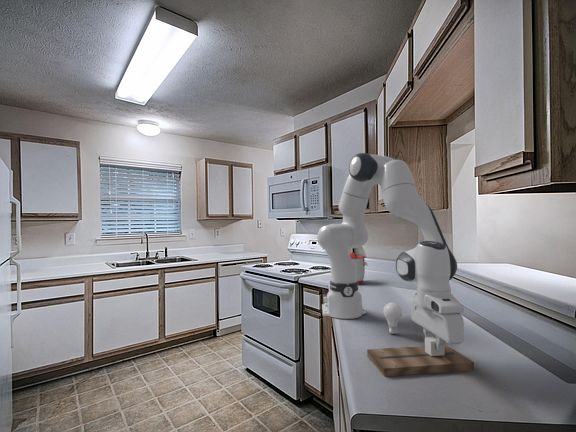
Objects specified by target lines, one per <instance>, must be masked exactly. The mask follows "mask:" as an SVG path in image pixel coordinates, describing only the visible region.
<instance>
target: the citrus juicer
mask: <svg viewBox="0 0 576 432" xmlns="http://www.w3.org/2000/svg"><path fill="white" fill-rule="evenodd" d="M349 255H350V257H351V259H353V260H354V261H355V262H356V264H357V281H358V285H361V284H363V282H364V280H365V279H364V278H365V272H366V271H365V269H366V267H365V266H369V264H368V262H366V261H365V256H363V255H357V254H356V253H354V252H350V253H349Z"/></svg>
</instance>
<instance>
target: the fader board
mask: <svg viewBox="0 0 576 432" xmlns="http://www.w3.org/2000/svg"><path fill="white" fill-rule="evenodd" d="M366 352H367V353H366V354H367V355H366V357H367V358H368V359H369V360H370V361H371V362H372V364H373V365H374V366H375V367H376V369H377V370H378V371H379V372H380V373H381V374H382V376H384V377H393V376H407V375H421V374H435V373H436V374H437V373H449V372H462V371H464V372H465V371H474V370H475V362H474V361H472V360H471V359H470V358H468V357H466V356H465V355H463V354H462V353H460V352H458V351H457V350H455V349H453V348H452V347H450V346H449V345H447V344H445V345H444V353H445V355H440V356H430V355H429V354H428V353H426V352H425V345H419V346H403V347H400V346H399V347H388V348H387V347H385V348H384V347H383V348H369V349H367V351H366Z"/></svg>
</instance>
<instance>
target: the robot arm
mask: <svg viewBox="0 0 576 432" xmlns="http://www.w3.org/2000/svg"><path fill="white" fill-rule="evenodd" d="M348 165H349V166H348V173H349V175H348V177H347V179H346V181H345V183H344V187H343V190H342V193H341V196H340V199H339V203H338V211H339V213H340V214H341V215H342V222H341V223H330V224H326V225H324V226H321V227H320V228H319V230H318V232H317V237H316V239H317V243H318V244H319V246H320V247H321V248H322V249H323V250H324V251H325V253H326V254H327V256H328V260H329V264H330V280H329V281H330V282H329V290H328V292H327V294H326V296H323V303H322V304H321V310H322V315H323V316H325V317H326V316H327V317H332V318H336V319H342V320H347V319H348V320H350V319H351V320H352V319H357V318H360V317H361V316H363V315H365V314H367V311H366V310H365V309H363V299H362V298H363V297H362V293H360V292H359V284H358V281H357V264H356V262H355V261H354V260H353V259H351V257H350V252H349V249H358V248H360V247H362V246H364V245H366V244H367V242H368V240H369V232H368V229H367V228H366V227H365V212H366V209H367V206H368V202H369V199H370V195H371V193H372V188H373V187H375V186H376V185H379V186H380V188H381V195H382V199H383V202H384V203H383V204H384V206H385V208H386V210H387V211H388V212H389V213H391V215H394V216H396V217H398V218H401V219H404V220H406V221H410V222H412V223H413V224H414V225H416V226H418V228H419V229H420V230H421V233H422V236H423V238H424V240H423V241H420V242H418V244H416V246H415V247H414V248H411V249H409V250H406V251H401V253H399V254H398V256H397V258H396V259H395V271H396V273H397V275H398V277H400V278H401V279H402V280H403V281H406V282H409V283H412V282H416V292H415V294H414V295H413V298H412V301H411V306H410V309H411V310H410V317H411V321H412V322H413V323H416V324H417V325H418V326H420V327H422V331H423V334H424V338H427V337H433V335H434V336H435V337H436V339H437V340H438V341H437V344H435V350H437V351H438V352H443V351H444V345H446V343H447V344H449V345H461V344H462V343H463V341H464V338H465V326H464V324H465V323H464V318H463V315H462V314H463V313H464V310H465V309H464V308H465V307H464V305H463V304H462V303H461V302H460V301H459V300H458V299H457V298H456V297H455V296H454V294H452V288H451V284H450V281H451V280H452V279H453V278H454V276H455V275H456V273H457V270H458V262H457V260H456V256H454V254H453V253H452V251H451V249H450V248H449V246H448V244H447V241H446V238H445V237H444V234H443V231H442V229H441V227H440V225H439V223H438V219H437V218H436V216H435V213H434V211H433V209H432V208H431V206H430V205H429V204H427V203H425V201H424V200H423V199H422V198H421V196H420V194H419V192H418V189H417V185H416V182H415V180H414V179H415V178H414V177H413V174H412V172H411V169H410V167H409V165H408V164H407V162H405V161H404V160H402V159H397V158H395V157H390V156H386V155H382V154H371V153H367V152H359V153H357V154H355V155H354V156H353V157H352V158H351V160H350V162H349V164H348Z"/></svg>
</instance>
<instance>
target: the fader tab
mask: <svg viewBox="0 0 576 432" xmlns="http://www.w3.org/2000/svg"><path fill="white" fill-rule="evenodd" d="M437 341H438V340H437V339H436V336H432V337H427V338H426V337H424V346H425V352H426V353H428V354H429V355H430V356H440V355H445V353H444V351H443V352H438V351H437V350H435V344H437Z"/></svg>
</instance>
